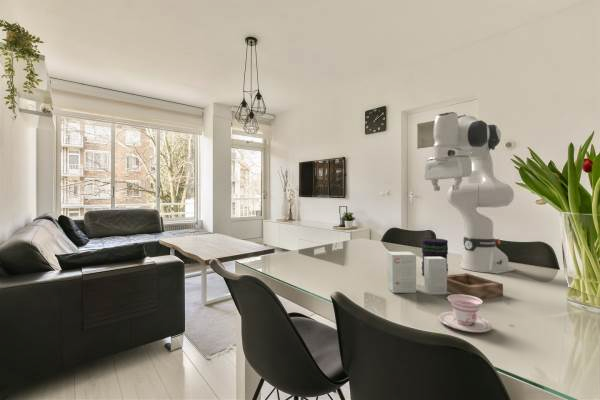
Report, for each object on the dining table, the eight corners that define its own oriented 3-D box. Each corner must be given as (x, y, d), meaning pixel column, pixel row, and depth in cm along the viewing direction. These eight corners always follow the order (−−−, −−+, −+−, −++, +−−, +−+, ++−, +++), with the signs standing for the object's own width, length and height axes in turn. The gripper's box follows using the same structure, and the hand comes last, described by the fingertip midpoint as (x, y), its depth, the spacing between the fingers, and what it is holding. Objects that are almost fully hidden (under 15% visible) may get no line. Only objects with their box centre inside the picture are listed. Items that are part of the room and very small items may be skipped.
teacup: (470, 337, 67) (470, 310, 67) (428, 317, 78) (428, 294, 78) (503, 328, 72) (503, 303, 71) (459, 310, 83) (459, 289, 83)
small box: (409, 287, 104) (409, 251, 104) (416, 293, 98) (416, 254, 98) (387, 287, 104) (387, 251, 104) (392, 293, 98) (392, 254, 98)
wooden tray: (466, 284, 108) (466, 273, 108) (502, 296, 95) (502, 283, 95) (436, 287, 104) (436, 276, 104) (469, 300, 91) (469, 287, 91)
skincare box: (440, 290, 100) (440, 256, 100) (447, 294, 96) (447, 258, 96) (423, 290, 100) (423, 256, 100) (429, 294, 96) (429, 258, 96)
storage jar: (449, 280, 113) (449, 242, 113) (422, 277, 117) (422, 240, 116) (445, 273, 123) (445, 238, 123) (420, 272, 126) (420, 237, 126)
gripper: (420, 158, 120) (420, 191, 120) (461, 149, 101) (460, 189, 101) (432, 158, 122) (432, 191, 122) (475, 150, 103) (475, 189, 103)
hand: (445, 190), depth 111 cm, fingers open, 8 cm apart
